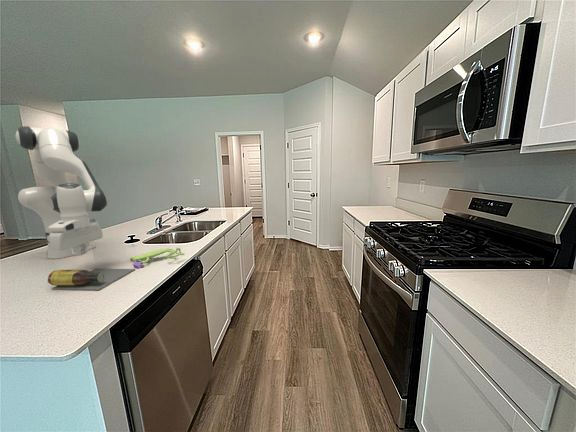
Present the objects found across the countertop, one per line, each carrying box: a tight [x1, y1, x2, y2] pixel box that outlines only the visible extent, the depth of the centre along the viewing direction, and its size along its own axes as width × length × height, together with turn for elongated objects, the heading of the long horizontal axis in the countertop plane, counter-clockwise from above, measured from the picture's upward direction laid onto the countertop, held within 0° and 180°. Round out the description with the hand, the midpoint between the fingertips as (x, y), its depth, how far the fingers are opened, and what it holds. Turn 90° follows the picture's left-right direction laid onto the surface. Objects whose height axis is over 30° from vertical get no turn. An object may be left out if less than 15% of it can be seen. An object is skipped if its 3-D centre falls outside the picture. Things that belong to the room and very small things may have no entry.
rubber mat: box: [51, 267, 136, 292], centre depth 104 cm, size 20×20×1 cm
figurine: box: [129, 247, 185, 269], centre depth 125 cm, size 18×27×6 cm
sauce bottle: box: [47, 269, 105, 287], centre depth 98 cm, size 7×6×20 cm
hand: (81, 254), depth 103 cm, fingers closed
